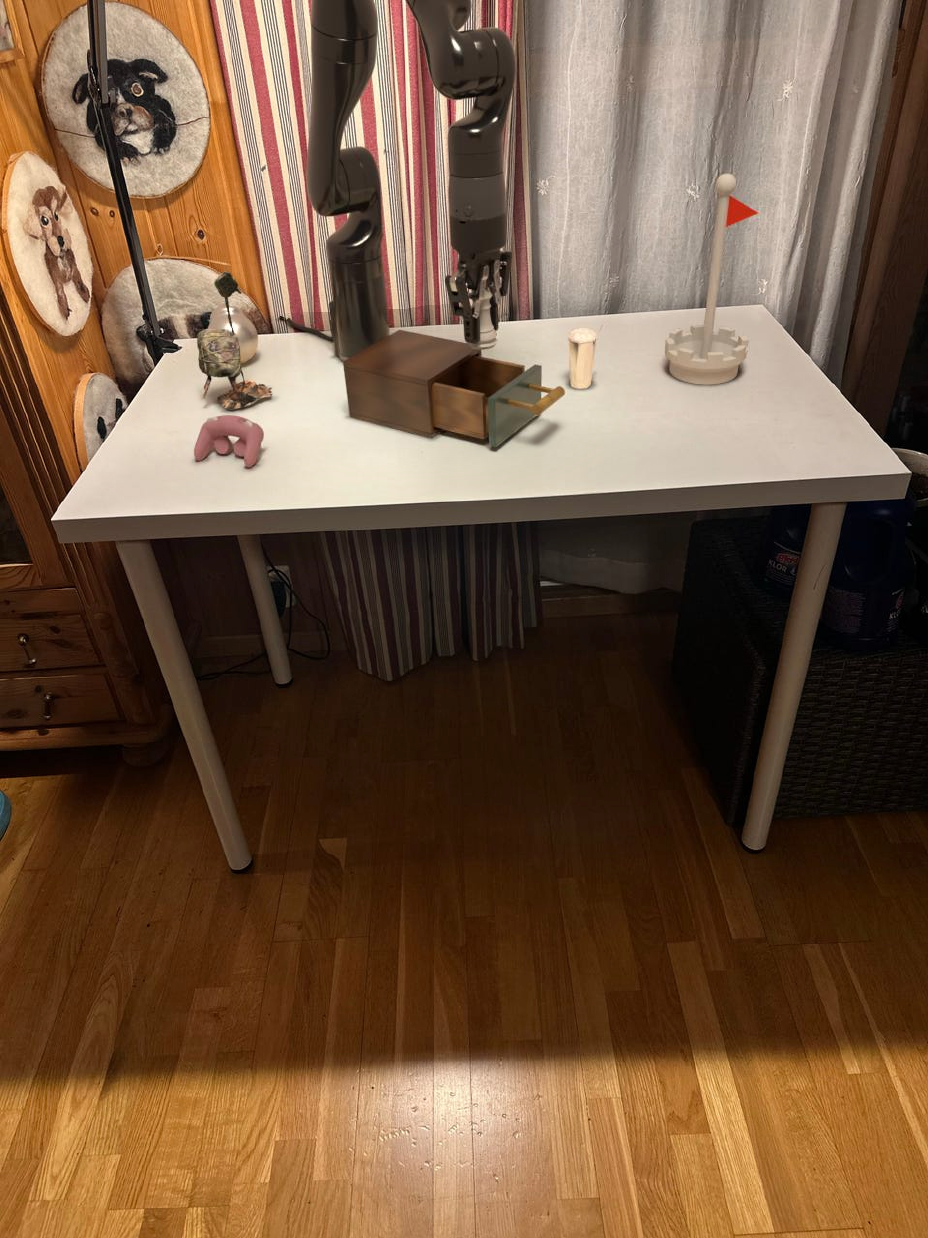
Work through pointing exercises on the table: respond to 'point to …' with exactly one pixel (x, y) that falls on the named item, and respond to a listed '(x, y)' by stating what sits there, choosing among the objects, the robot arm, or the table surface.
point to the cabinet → (401, 379)
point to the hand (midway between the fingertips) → (481, 335)
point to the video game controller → (218, 434)
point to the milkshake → (581, 356)
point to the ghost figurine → (236, 329)
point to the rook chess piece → (485, 324)
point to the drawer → (490, 398)
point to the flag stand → (711, 312)
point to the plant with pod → (227, 356)
